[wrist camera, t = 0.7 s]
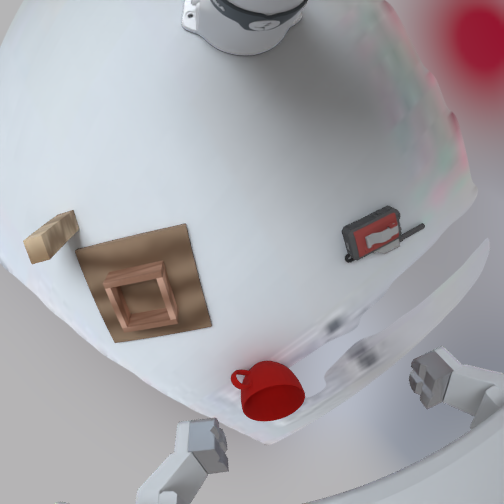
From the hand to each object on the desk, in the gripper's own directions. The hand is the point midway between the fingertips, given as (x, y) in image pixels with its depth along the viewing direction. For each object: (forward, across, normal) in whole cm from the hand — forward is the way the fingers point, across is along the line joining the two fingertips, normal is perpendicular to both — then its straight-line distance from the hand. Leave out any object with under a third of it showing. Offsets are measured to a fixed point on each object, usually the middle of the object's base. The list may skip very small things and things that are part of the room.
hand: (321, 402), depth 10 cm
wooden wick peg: (+36, +29, -7) cm, 47 cm away
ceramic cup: (+43, +4, +34) cm, 55 cm away
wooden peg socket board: (+39, +20, +8) cm, 44 cm away
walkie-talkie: (+42, -26, +8) cm, 50 cm away
